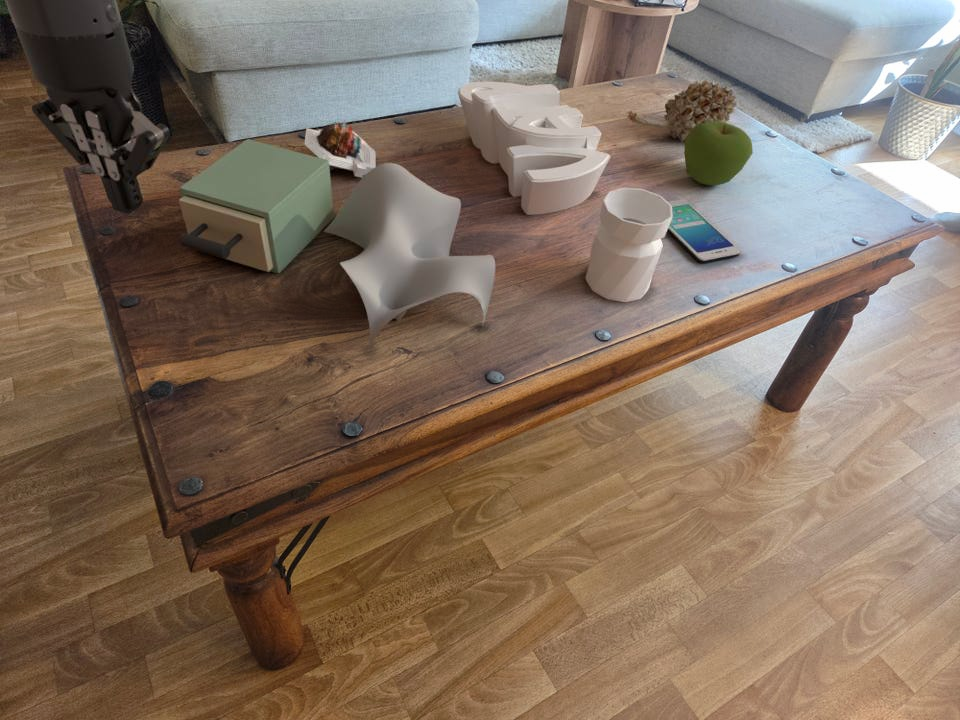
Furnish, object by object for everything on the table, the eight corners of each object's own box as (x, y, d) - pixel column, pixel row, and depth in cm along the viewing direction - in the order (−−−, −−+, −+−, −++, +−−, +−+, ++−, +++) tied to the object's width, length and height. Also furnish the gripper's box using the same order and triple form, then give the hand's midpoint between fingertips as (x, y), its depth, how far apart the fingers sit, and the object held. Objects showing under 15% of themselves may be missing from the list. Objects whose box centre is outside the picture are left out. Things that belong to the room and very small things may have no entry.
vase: (614, 255, 94) (634, 180, 86) (661, 287, 90) (688, 211, 81) (571, 276, 90) (588, 199, 81) (618, 311, 85) (642, 233, 77)
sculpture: (509, 321, 82) (518, 258, 75) (359, 352, 76) (354, 286, 69) (443, 214, 98) (446, 153, 91) (315, 232, 92) (308, 169, 85)
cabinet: (278, 274, 85) (268, 213, 79) (195, 248, 87) (178, 187, 81) (334, 218, 95) (328, 160, 89) (257, 196, 97) (247, 138, 91)
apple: (677, 192, 108) (696, 135, 101) (670, 162, 116) (688, 106, 109) (742, 201, 108) (766, 144, 101) (732, 169, 115) (753, 115, 108)
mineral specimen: (293, 137, 107) (303, 97, 102) (361, 152, 113) (374, 114, 108) (304, 180, 100) (316, 139, 95) (376, 193, 105) (390, 155, 101)
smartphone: (684, 198, 105) (743, 251, 96) (683, 203, 106) (741, 256, 96) (645, 204, 103) (701, 259, 93) (644, 209, 103) (699, 264, 94)
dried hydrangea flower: (702, 120, 129) (719, 69, 122) (735, 142, 123) (754, 90, 116) (609, 134, 121) (621, 80, 114) (639, 159, 115) (654, 104, 108)
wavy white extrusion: (615, 224, 100) (632, 160, 92) (514, 235, 95) (523, 169, 88) (534, 120, 123) (542, 62, 116) (449, 126, 119) (452, 66, 111)
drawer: (248, 292, 81) (237, 242, 76) (169, 267, 83) (154, 217, 78) (321, 219, 93) (316, 172, 88) (251, 199, 95) (242, 152, 90)
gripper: (-42, 12, 50) (42, 209, 62) (102, 47, 48) (161, 246, 60) (36, -12, 56) (100, 175, 68) (170, 19, 53) (211, 207, 65)
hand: (128, 208), depth 64 cm, fingers closed
